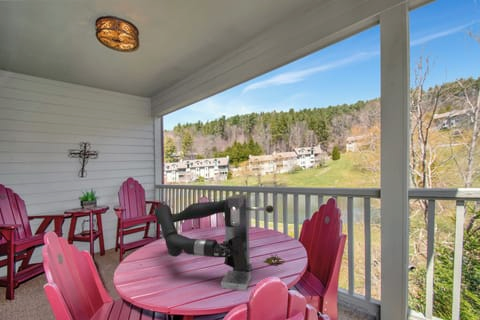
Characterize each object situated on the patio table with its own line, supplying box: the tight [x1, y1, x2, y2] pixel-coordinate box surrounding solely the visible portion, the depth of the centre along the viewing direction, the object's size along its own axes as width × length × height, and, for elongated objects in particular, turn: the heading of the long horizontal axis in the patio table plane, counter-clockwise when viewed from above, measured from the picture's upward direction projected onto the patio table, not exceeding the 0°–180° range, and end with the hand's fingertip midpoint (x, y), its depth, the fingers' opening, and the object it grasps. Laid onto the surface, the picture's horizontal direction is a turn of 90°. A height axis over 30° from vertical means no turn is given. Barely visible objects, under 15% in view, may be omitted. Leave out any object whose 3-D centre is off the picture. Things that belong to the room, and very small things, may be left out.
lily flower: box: [263, 253, 284, 267], centre depth 120 cm, size 12×12×5 cm
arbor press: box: [220, 194, 275, 292], centre depth 102 cm, size 20×22×38 cm
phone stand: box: [224, 236, 247, 270], centre depth 99 cm, size 9×6×12 cm, turn 45°
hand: (240, 250), depth 98 cm, fingers closed on phone stand, 6 cm apart
